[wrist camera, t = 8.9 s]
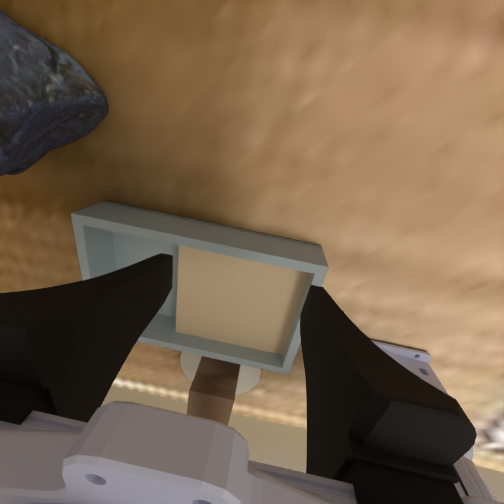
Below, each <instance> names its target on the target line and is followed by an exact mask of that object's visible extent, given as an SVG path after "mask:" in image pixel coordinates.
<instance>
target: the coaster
mask: <svg viewBox="0 0 504 504" xmlns="http://www.w3.org/2000/svg"><path fill="white" fill-rule="evenodd" d="M201 357H202V356H200V355H196V354H191V353H187V352H182V354H181V357H180V365H181V368H182V371H183V373H184V374H185V376H186V377H187V378H188V379H189V380H190V381H191V382H193V379H194V377H195V374H196V371H197V368H198V366H199V363H200V360H201ZM260 376H261V369H259V368H254V367H250V366H245V365H240V371H239V376H238V382H237V387H236V393H235V395H237V394H241V393H244V392H247V391H249V390H251V389H252V388H253V387H254V386H255V385H256V384H257V383H258V381H259V379H260Z"/></svg>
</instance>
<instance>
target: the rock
mask: <svg viewBox="0 0 504 504" xmlns="http://www.w3.org/2000/svg"><path fill="white" fill-rule="evenodd" d="M107 113H108V104H107V102H106V98H105V96H104V93H103V92H102V90H101V89H100V88H99V86H98V85H97V84H96V83H95V82H94V80H93V79H92V78H91V77H90V75H89V74H88V73H87V72H86V71H85V70H84V69H83V68H82V67H81V66H80V65H79V64H78V63H77V62H76V61H75V60H74V59H73V58H72V57H71V56H70V55H68V54H67V53H66V52H64V51H63V50H61V49H60V48H58V47H57V46H55V45H53V44H52V43H50V42H48V41H46V40H45V39H43V38H41V37H40V36H38V35H37V34H35V33H34V32H32V31H30V30H28V29H26V28H25V27H23V26H21V25H19V24H18V23H16V22H15V21H13V20H12V19H11V18H9V17H8V16H7V15H6V14H5V13H4V12H3V11H2V10H0V176H2V175H5V174H9V175H17V174H20V173H22V172H24V171H25V170H27V169H28V168H30V167H31V166H32V165H33V164H34V163H36V162H37V161H38V160H39V159H41V158H42V157H43V156H44V155H45V154H46V153H47V152H48V151H50V150H52V149H54V148H57V147H60V146H64V145H67V144H69V143H72V142H74V141H76V140H78V139H79V138H81V137H83V136H85V135H87V134H88V133H90V132H91V131H92V130H93V129H94V127H95V126H96V125H97V124H98V123H99V122H100V121H101V120H102V119H103V118H104V117H105V116H106V115H107Z"/></svg>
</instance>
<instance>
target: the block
mask: <svg viewBox="0 0 504 504" xmlns="http://www.w3.org/2000/svg"><path fill="white" fill-rule="evenodd" d="M240 365H241V364H236V363H232V362H227V361H223V360H218V359H214V358H209V357H205V356H202V357H201V360H200V363H199V366H198V368H197V371H196V374H195V377H194V379H193V382H192V385H191V388H190V390H189V399H188V408H187V415H191V416H196V417H200V418H205V419H209V420H213V421H217V422H220V423H222V424H225V425H227V426H228V422H229V418H230V414H231V410H232V407H233V403H234V398H235V393H236V387H237V382H238V376H239V371H240Z"/></svg>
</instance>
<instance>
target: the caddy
mask: <svg viewBox="0 0 504 504" xmlns="http://www.w3.org/2000/svg"><path fill="white" fill-rule="evenodd" d="M71 218H72V223H73V229H74V235H75V241H76V246H77V252H78V258H79V264H80V269H81V275H82V281H83V280H87V279H90V278H94V277H98V276H101V275H104V274H107V273H110V272H113V271H116V270H119V269H121V268H124V267H127V266H130V265H132V264H135V263H137V262H140V261H142V260H145V259H147V258H149V257H152V256H154V255H157V254H160V253H164V254H169V255H173V278H172V289H171V291H170V293H169V295H168V297H167V299H166V301H165V302H164V304H163V305H162V307H161V308H160V310H159V311H158V312H157V314H156V315H155V317H154V318H153V319H152V321H151V322H150V323H149V325H148V326H147V328H146V329H145V330H144V332H143V333H142V334H141V336H140V337H139V339H138V340H137V342H141V343H146V344H150V345H155V346H159V347H164V348H168V349H173V350H178V351H182V352H187V353H191V354H196V355H200V356H205V357H209V358H214V359H218V360H223V361H227V362H232V363H236V364H241V365H245V366H250V367H254V368H259V369H263V370H268V371H272V372H277V373H282V374H286V375H289V372H290V370H291V367H292V364H293V362H294V359H295V356H296V354H297V351H298V348H299V346H300V343H301V337H300V314H301V311H302V308H303V305H304V303H305V300H306V297H307V294H308V291H309V288H310V285H315V286H320V287H321V286H322V284H323V281H324V278H325V275H326V273H327V270H328V264H327V261H326V258H325V255H324V253H323V250H322V247H321V245H318V244H313V243H308V242H303V241H298V240H294V239H289V238H284V237H279V236H274V235H269V234H265V233H260V232H255V231H250V230H245V229H240V228H236V227H231V226H226V225H221V224H216V223H211V222H207V221H202V220H197V219H192V218H187V217H182V216H178V215H173V214H168V213H163V212H158V211H154V210H149V209H144V208H139V207H134V206H129V205H125V204H120V203H115V202H110V201H102V202H100V203H97V204H94V205H92V206H89V207H86V208H83V209H81V210H78V211H75V212H73V213H71Z"/></svg>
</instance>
